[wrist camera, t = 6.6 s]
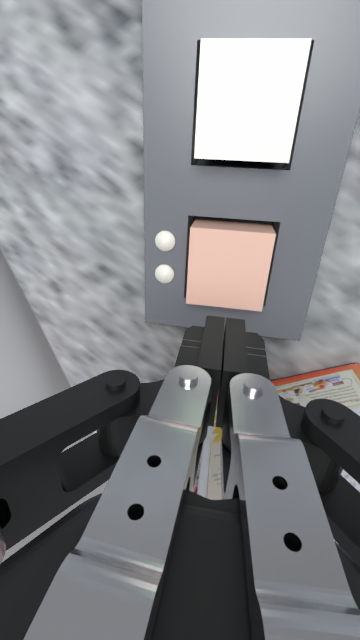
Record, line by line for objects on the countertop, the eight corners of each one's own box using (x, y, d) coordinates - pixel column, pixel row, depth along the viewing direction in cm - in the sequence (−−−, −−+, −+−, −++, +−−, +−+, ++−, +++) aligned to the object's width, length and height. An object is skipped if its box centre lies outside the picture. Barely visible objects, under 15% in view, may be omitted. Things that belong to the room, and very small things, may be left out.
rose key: (271, 224, 21) (276, 233, 19) (259, 294, 24) (261, 311, 21) (195, 218, 22) (190, 227, 19) (191, 287, 25) (186, 303, 22)
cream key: (300, 56, 17) (311, 38, 15) (282, 162, 20) (289, 163, 17) (206, 55, 18) (200, 38, 15) (199, 158, 20) (194, 158, 18)
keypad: (443, -302, 13) (500, -431, 10) (293, 322, 26) (300, 341, 24) (156, -267, 14) (136, -370, 12) (154, 306, 28) (144, 323, 25)
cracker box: (225, 434, 34) (210, 768, 15) (206, 390, 31) (162, 721, 13) (370, 411, 29) (591, 838, 11) (360, 359, 27) (618, 787, 9)
